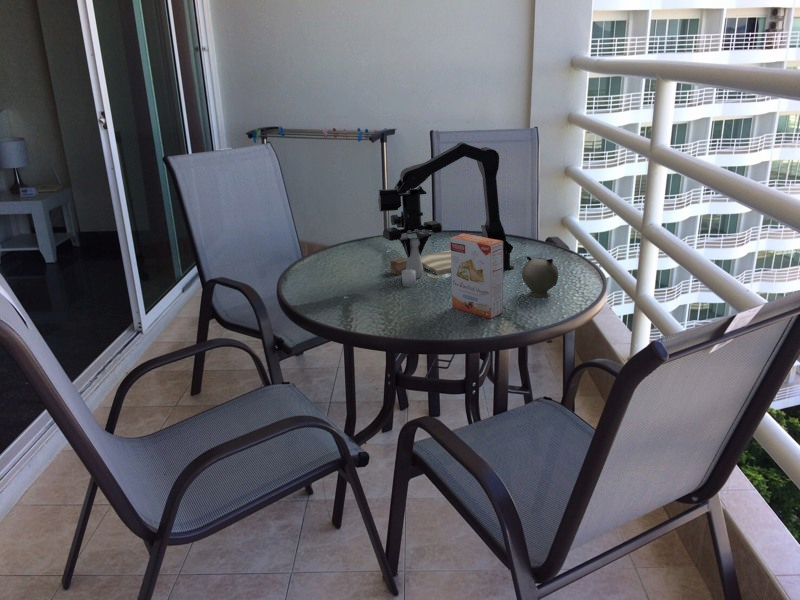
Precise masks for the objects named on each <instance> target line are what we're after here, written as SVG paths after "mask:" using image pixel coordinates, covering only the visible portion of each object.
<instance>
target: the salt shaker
mask: <svg viewBox="0 0 800 600" xmlns="http://www.w3.org/2000/svg"><path fill="white" fill-rule="evenodd" d="M409 238H410V257H409V258H408V257H407V256H406V257H407V258H406V259H407V264H406V269H413V270H415V271H416V280H417V279H421V277H422V275H423V273H424V267H423V265H422V261H421V256H422V255H420V252H419V247H418V246H419V245H420V240H419V239H418V238H417V237H409Z"/></svg>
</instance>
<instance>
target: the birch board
mask: <svg viewBox="0 0 800 600" xmlns="http://www.w3.org/2000/svg"><path fill="white" fill-rule="evenodd" d="M420 256H421V261H422V265H423V269H425V268H426V270H427V269H428V271H429V270H430V271H429V272H431V271H432V272H431V273H433V272H434V273H433V274H435V275H436V274H437V275H442V274H446V273H451V249H449V250H444V251H439V252H434V253H428V254H424V255H420Z"/></svg>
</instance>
